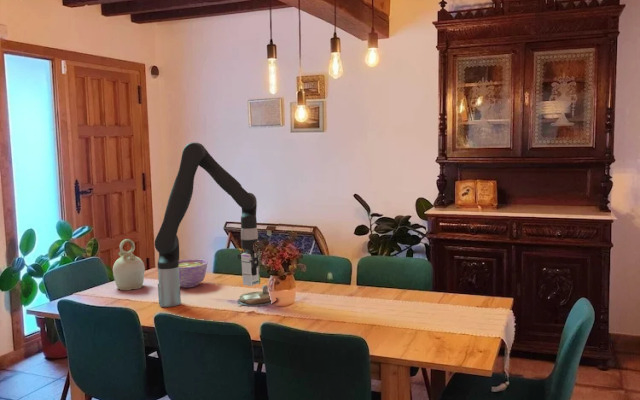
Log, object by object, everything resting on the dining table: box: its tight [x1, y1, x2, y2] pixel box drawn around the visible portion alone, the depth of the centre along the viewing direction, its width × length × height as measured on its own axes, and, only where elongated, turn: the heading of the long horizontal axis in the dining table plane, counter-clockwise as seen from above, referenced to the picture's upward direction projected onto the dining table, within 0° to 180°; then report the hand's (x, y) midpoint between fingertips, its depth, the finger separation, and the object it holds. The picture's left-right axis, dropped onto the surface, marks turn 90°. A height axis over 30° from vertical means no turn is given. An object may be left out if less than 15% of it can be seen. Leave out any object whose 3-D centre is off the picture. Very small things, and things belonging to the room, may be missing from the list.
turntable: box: [239, 284, 271, 304], centre depth 274 cm, size 16×16×5 cm
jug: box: [112, 238, 146, 291], centre depth 305 cm, size 15×16×25 cm
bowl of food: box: [179, 258, 208, 288], centre depth 306 cm, size 20×20×12 cm
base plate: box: [237, 298, 272, 307], centre depth 274 cm, size 19×18×1 cm
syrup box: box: [240, 252, 261, 287], centre depth 271 cm, size 6×6×14 cm
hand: (251, 273), depth 271 cm, fingers closed on syrup box, 7 cm apart
